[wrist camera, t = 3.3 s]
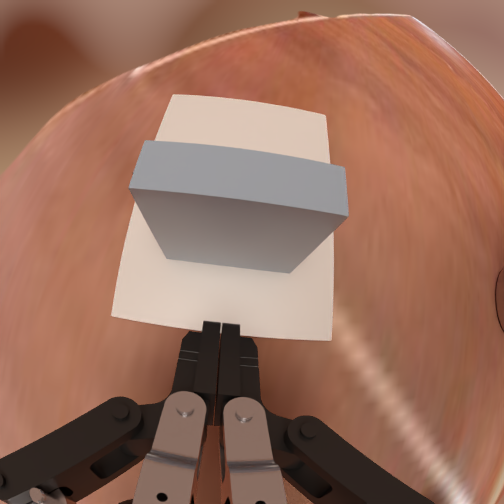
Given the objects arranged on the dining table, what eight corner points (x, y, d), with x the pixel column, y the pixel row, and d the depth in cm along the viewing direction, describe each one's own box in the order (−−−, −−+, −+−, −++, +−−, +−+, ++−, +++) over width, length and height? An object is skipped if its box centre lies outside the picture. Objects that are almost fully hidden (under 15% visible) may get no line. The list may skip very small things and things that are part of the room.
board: (328, 340, 20) (331, 340, 19) (114, 316, 18) (111, 316, 18) (323, 118, 27) (325, 115, 26) (173, 98, 25) (173, 94, 25)
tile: (289, 273, 21) (348, 215, 11) (166, 258, 20) (128, 188, 10) (291, 241, 21) (344, 167, 12) (172, 226, 21) (145, 140, 11)
